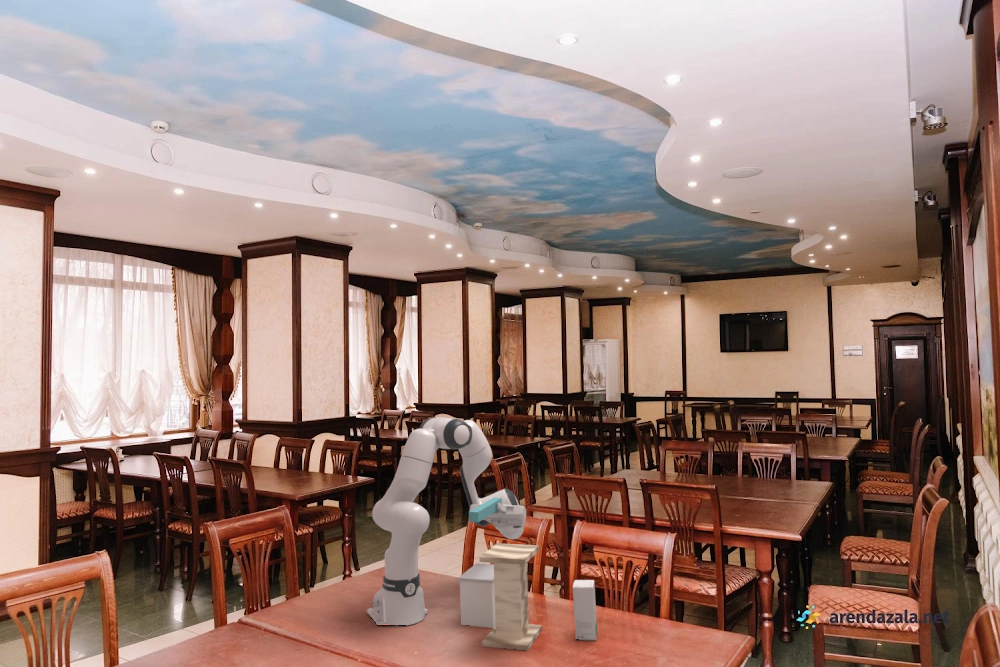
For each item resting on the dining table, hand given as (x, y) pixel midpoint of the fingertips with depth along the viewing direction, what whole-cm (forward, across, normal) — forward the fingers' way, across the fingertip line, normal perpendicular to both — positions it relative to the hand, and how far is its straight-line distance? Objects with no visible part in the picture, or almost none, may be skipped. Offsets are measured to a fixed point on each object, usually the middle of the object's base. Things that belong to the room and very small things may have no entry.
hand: (491, 504), depth 230 cm
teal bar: (+4, 0, +4) cm, 6 cm away
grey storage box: (-9, 0, +35) cm, 36 cm away
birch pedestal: (+3, +14, +42) cm, 44 cm away
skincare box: (-4, +35, +39) cm, 52 cm away
